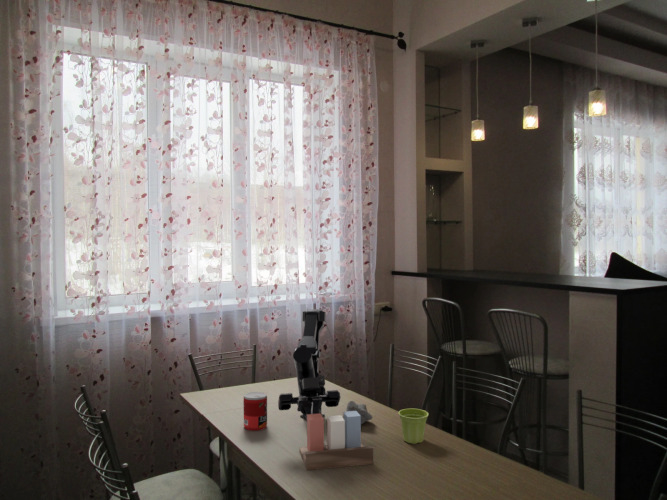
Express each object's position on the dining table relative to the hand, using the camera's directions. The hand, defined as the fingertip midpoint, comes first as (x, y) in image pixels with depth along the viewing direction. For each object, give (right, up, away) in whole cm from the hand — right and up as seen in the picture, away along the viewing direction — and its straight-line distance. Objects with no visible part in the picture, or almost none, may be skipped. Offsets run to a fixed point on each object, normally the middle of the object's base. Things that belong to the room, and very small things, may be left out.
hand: (312, 425), depth 159 cm
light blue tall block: (+12, -6, -1) cm, 13 cm away
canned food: (-20, -8, +22) cm, 31 cm away
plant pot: (+31, -8, +9) cm, 34 cm away
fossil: (+15, -8, +25) cm, 31 cm away
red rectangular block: (+1, -6, -3) cm, 7 cm away
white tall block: (+7, -6, -5) cm, 11 cm away
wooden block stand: (+7, -8, -4) cm, 11 cm away
